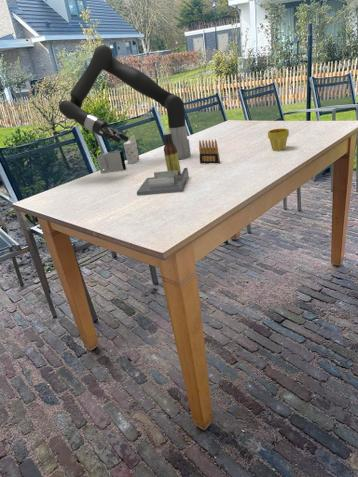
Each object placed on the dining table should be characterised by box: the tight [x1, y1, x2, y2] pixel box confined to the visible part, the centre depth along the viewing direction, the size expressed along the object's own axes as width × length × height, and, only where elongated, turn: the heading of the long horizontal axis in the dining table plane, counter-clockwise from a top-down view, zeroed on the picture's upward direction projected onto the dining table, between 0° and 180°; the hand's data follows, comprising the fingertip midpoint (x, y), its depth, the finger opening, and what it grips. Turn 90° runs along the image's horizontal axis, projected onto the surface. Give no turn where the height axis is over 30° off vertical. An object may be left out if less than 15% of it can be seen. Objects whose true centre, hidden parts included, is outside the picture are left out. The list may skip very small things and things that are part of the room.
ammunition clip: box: [198, 139, 221, 165], centre depth 186 cm, size 11×2×12 cm, turn 59°
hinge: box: [96, 150, 127, 174], centre depth 201 cm, size 14×5×10 cm, turn 92°
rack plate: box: [136, 167, 190, 196], centre depth 164 cm, size 20×20×5 cm
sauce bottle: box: [162, 132, 182, 175], centre depth 174 cm, size 7×6×20 cm
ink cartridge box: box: [123, 134, 140, 165], centre depth 213 cm, size 9×5×15 cm, turn 168°
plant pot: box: [267, 127, 290, 151], centre depth 192 cm, size 10×10×10 cm
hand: (124, 140), depth 178 cm, fingers open, 8 cm apart
